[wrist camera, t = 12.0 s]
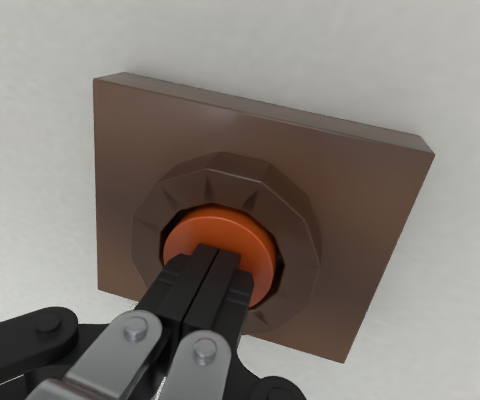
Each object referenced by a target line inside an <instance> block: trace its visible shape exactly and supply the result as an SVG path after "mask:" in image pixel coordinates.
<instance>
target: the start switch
mask: <svg viewBox="0 0 480 400" xmlns="http://www.w3.org/2000/svg"><path fill="white" fill-rule="evenodd" d="M93 101H94V143H95V185H96V228H97V270H98V289H99V290H101V291H105V292H108V293H111V294H114V295H118V296H121V297H124V298H128V299H131V300H134V301H138V302H140V300H141V299H142V297H143V296H144V294H145V293H146V292H147V290H148V289H149V287H150V286H151V285H152V283H153V282H154V280H156V277H157V276H158V275H159V273H160V272H161V271H162V269H163V268H164V266H165V265H164V258H163V252H164V245H165V242H166V240H167V238H168V236H169V234H170V233H171V232H172V230H173V229H174V228H175V226H176V225H177V224H178V223H179V221H180V220H181V219H182V217H183V216H184V215H185V214H186V212H187V211H188V210H189V209H190V208H191V207H195V206H199V205H203V204H207V203H211V202H212V203H216V204H220V205H223V206H227V207H231V208H235V209H239V210H243V211H246V212H247V213H248V214H250V215H251V216H252V217H253V218H254V219H255V220H257V221H258V222H259V223H260V224H261V225H262V226H264V227H265V228H266V229H267V230H268V231H269V232H271V233H272V234H273V235H274V237H275V240H276V243H277V245H278V248H279V255H278V260H277V264H276V268H275V273H274V277H273V281H272V284H271V287H270V289H269V291H268V293H267V294H266V295H265V297H264V298H263V299H262V300H260V301H259V302H258V303H257V304H255V305H254V306H251V307H249V310H248V314H247V318H246V321H245V325H244V328H243V331H242V335H250V336H253V337H257V338H260V339H263V340H266V341H270V342H273V343H276V344H280V345H283V346H286V347H290V348H293V349H296V350H300V351H303V352H306V353H309V354H313V355H316V356H319V357H323V358H326V359H329V360H333V361H336V362H339V363H344V362H345V360H346V358H347V355H348V353H349V351H350V349H351V346H352V344H353V342H354V339H355V337H356V335H357V333H358V330H359V328H360V326H361V324H362V321H363V319H364V317H365V314H366V312H367V310H368V308H369V305H370V303H371V301H372V298H373V296H374V294H375V292H376V289H377V287H378V285H379V282H380V280H381V278H382V276H383V273H384V271H385V269H386V266H387V264H388V262H389V260H390V257H391V255H392V253H393V250H394V248H395V246H396V244H397V241H398V239H399V237H400V235H401V232H402V230H403V228H404V225H405V223H406V221H407V219H408V216H409V214H410V212H411V209H412V207H413V205H414V203H415V200H416V198H417V196H418V193H419V191H420V189H421V187H422V184H423V182H424V180H425V177H426V175H427V173H428V171H429V168H430V166H431V164H432V161H433V159H434V157H435V154H434V152H433V151H432V150H431V149H430V147H429V146H428V145H427V144H426V143H425V141H424V140H423V139H422V138H421V137H420V136H417V135H412V134H408V133H403V132H398V131H394V130H389V129H385V128H380V127H375V126H371V125H366V124H361V123H357V122H352V121H348V120H343V119H338V118H334V117H329V116H324V115H320V114H315V113H311V112H306V111H301V110H297V109H292V108H287V107H283V106H278V105H274V104H269V103H264V102H260V101H255V100H250V99H246V98H241V97H237V96H232V95H227V94H223V93H218V92H213V91H209V90H204V89H200V88H195V87H190V86H186V85H181V84H176V83H172V82H167V81H163V80H158V79H153V78H149V77H144V76H139V75H135V74H130V73H126V72H122V73H117V74H113V75H108V76H103V77H99V78H94V79H93Z"/></svg>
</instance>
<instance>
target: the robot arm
mask: <svg viewBox="0 0 480 400" xmlns="http://www.w3.org/2000/svg"><path fill="white" fill-rule="evenodd" d="M240 259H241V254H238V253H234V252H231V251H227V250H223V249H219V248H216V247H212V246H208V245H205V244H201V243H199V244H198V245H197V247H196V248H195V250H194V251H193V253H192V255H191V256H190V255H186V254H183V253H180V254H178V255H176V256H175V257H173V258H171V259H170V260H168V262H167V263H166V265H165V266H164V268H163V269H162V271H161V272H160V273H159V275H158V276H157V277H156V280H154V282H153V283H152V285H151V286H150V287H149V289H148V290H147V292H146V293H145V294H144V296H143V297H142V299H141V300H140V302H139V303H138V304H137V306H136V307H135V309H134V310H131V311H127V312H124V313H122V314H120V315H119V316H117V317H116V318H115V319H114V320H113V321H112V322H111V323H109V324H78V319H77V316H76V315H75V313H74V312H73V311H71V310H69V309H67V308H64V307H47V308H43V309H40V310H37V311H34V312H31V313H28V314H25V315H22V316H18V317H15V318H12V319H9V320H6V321H3V322H0V384H1V383H4V382H6V381H9V380H11V379H13V378H16V377H18V376H21V375H23V374H24V375H23V376H21V377H18V378H16V379H13V380H11V381H9V382H6V383H4V384H1V385H0V400H155V398H156V392H157V390H158V388H159V386H160V384H161V382H162V380H163V378H164V376H165V377H166V380H165V383H164V385H163V388H162V391H161V393H160V396H159V398H158V400H307V399H306V398H305V396H304V395H303V393H302V392H301V390H300V389H299V388H298V387H297V386H296V385H295V384H294V383H292V382H291V381H289V380H287V379H285V378H282V377H278V376H268V377H264V378H262V379H260V378H259V377H257V376H256V375H254V374H253V373H251V372H250V371H249V370H248V369H246V368H245V366H244V365H243V364H242V363H241V361H240V359H239V358H238V355H237V348H238V345H239V342H240V338H241V335H242V331H243V328H244V325H245V321H246V318H247V314H248V310H249V305H250V301H251V297H252V293H253V288H254V280H253V277H252V273H251V272H247V271H243V270H240V269H239V264H240Z"/></svg>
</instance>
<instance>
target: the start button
mask: <svg viewBox="0 0 480 400" xmlns="http://www.w3.org/2000/svg"><path fill="white" fill-rule="evenodd" d="M199 243H201V244H205V245H208V246H212V247H216V248H219V249H223V250H227V251H231V252H234V253H238V254H241V259H240V264H239V269H240V270H243V271H247V272H251V273H252V277H253V280H254V288H253V293H252V297H251V301H250V305H249V307H251V306H254V305H255V304H257V303H258V302H259V301H260V300H262V299H263V298H264V297H265V295H266V294H267V293H268V291H269V289H270V287H271V284H272V281H273V277H274V273H275V268H276V264H277V260H278V255H279V248H278V245H277V243H276V240H275V237H274V235H273V234H272V233H271V232H269V231H268V230H267V229H266V228H265V227H264V226H262V225H261V224H260V223H259V222H258V221H257V220H255V219H254V218H253V217H252V216H251V215H250V214H248V213H247V212H246V211H243V210H239V209H235V208H231V207H227V206H223V205H220V204H216V203H212V202H211V203H207V204H203V205H199V206H195V207H191V208H190V209H189V210H188V211H187V212H186V214H185V215H184V216H183V217H182V219H181V220H180V221H179V223H178V224H177V225H176V226H175V228H174V229H173V230H172V232H171V233H170V234H169V236H168V238H167V240H166V242H165V245H164V252H163V258H164V265H166V263H167V262H168V260H170V259H171V258H173V257H175V256H176V255H178V254H180V253H183V254H186V255H190V256H191V255H192V253H193V251H194V250H195V248H196V247H197V245H198V244H199Z"/></svg>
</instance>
